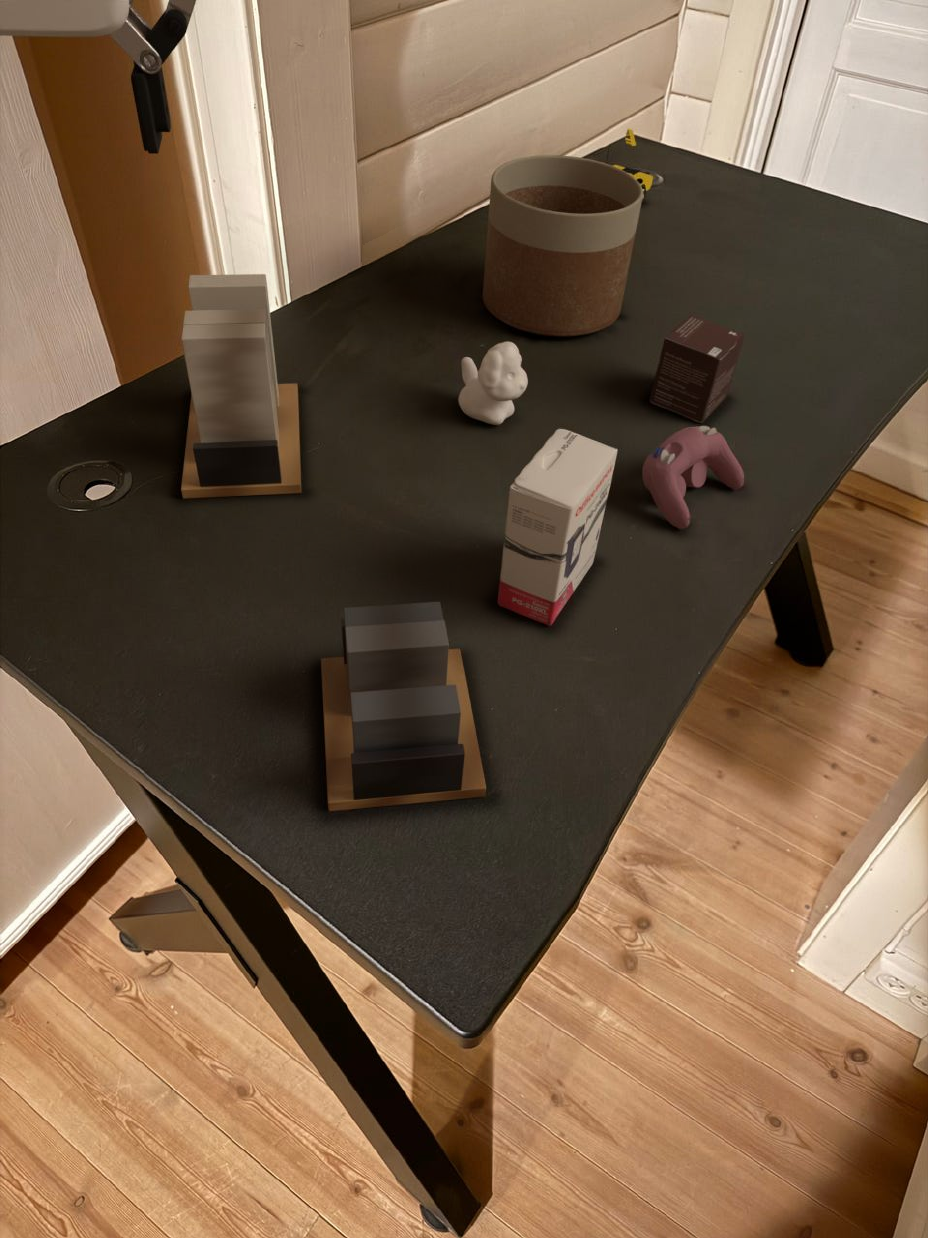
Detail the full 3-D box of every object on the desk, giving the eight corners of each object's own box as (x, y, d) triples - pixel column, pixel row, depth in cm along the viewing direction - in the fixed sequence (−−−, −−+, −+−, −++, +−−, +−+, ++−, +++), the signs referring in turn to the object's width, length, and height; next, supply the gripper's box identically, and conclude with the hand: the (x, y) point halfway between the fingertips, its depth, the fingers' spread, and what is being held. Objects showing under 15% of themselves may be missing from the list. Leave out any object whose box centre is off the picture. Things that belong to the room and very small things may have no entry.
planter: (586, 269, 111) (604, 150, 101) (643, 333, 101) (670, 207, 91) (463, 281, 107) (470, 159, 97) (510, 349, 97) (523, 220, 87)
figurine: (503, 441, 85) (511, 366, 80) (436, 410, 88) (439, 335, 82) (534, 416, 88) (544, 342, 83) (468, 388, 91) (473, 314, 86)
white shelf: (182, 498, 77) (153, 362, 68) (193, 395, 88) (169, 264, 78) (301, 493, 78) (288, 358, 69) (298, 391, 89) (286, 263, 80)
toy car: (616, 225, 121) (628, 159, 115) (566, 208, 124) (575, 143, 118) (656, 198, 128) (669, 134, 122) (608, 183, 131) (618, 120, 125)
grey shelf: (328, 811, 57) (321, 741, 51) (321, 667, 65) (314, 593, 60) (485, 796, 58) (494, 726, 53) (459, 657, 66) (465, 583, 61)
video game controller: (706, 483, 85) (695, 411, 82) (749, 486, 82) (739, 412, 79) (642, 528, 80) (628, 454, 77) (685, 533, 77) (672, 456, 74)
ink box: (552, 629, 69) (574, 508, 60) (494, 604, 70) (507, 483, 62) (595, 564, 74) (621, 444, 66) (540, 542, 76) (558, 423, 67)
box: (674, 378, 95) (690, 312, 90) (727, 399, 93) (747, 333, 87) (647, 403, 91) (662, 336, 86) (701, 425, 89) (720, 358, 84)
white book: (209, 409, 85) (188, 286, 76) (210, 396, 86) (189, 274, 77) (278, 406, 86) (265, 285, 77) (278, 394, 87) (265, 273, 78)
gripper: (-302, -296, 35) (-119, 170, 47) (162, -265, 37) (220, 170, 50) (-229, -302, 40) (-81, 120, 52) (175, -275, 42) (225, 122, 55)
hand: (65, 144), depth 51 cm, fingers open, 9 cm apart
